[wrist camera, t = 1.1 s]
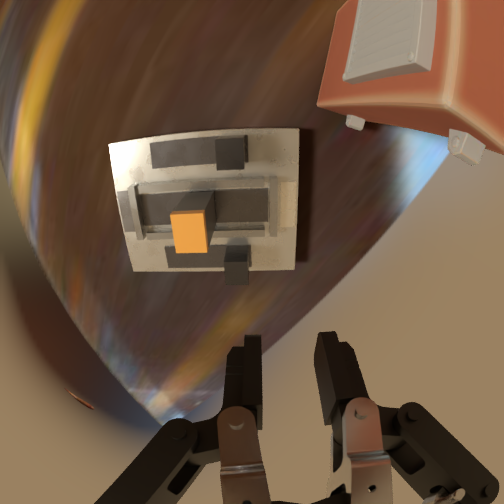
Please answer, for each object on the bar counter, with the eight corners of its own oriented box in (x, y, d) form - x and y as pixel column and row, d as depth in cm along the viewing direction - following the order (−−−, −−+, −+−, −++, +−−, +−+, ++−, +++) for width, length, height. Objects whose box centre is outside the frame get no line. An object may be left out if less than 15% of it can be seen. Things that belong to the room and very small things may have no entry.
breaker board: (116, 141, 27) (91, 150, 22) (296, 127, 26) (305, 131, 21) (138, 263, 34) (122, 288, 29) (292, 261, 34) (298, 288, 29)
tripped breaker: (186, 192, 27) (170, 214, 22) (213, 191, 27) (203, 213, 22) (190, 224, 29) (176, 253, 24) (216, 223, 29) (207, 252, 24)
